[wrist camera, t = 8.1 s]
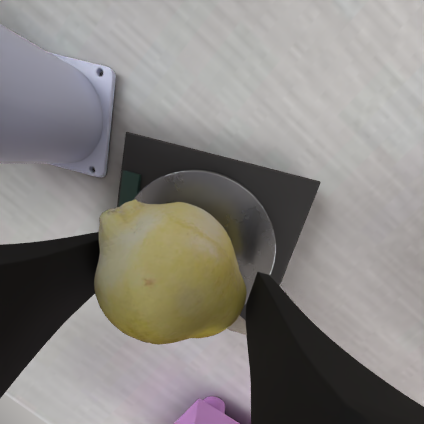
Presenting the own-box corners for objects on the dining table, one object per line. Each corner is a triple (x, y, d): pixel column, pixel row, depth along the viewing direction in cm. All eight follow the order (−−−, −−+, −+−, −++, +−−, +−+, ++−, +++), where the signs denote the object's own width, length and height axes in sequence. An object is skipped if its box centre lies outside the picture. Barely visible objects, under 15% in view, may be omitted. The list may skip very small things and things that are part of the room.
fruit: (212, 339, 13) (84, 247, 11) (272, 272, 13) (158, 167, 11) (242, 455, 8) (-12, 314, 5) (344, 336, 8) (143, 149, 5)
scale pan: (119, 286, 15) (112, 292, 14) (137, 151, 12) (131, 151, 11) (248, 324, 14) (248, 333, 14) (296, 193, 12) (301, 195, 11)
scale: (124, 268, 19) (105, 286, 16) (142, 136, 15) (123, 130, 13) (258, 307, 18) (262, 333, 15) (307, 178, 15) (323, 182, 12)
